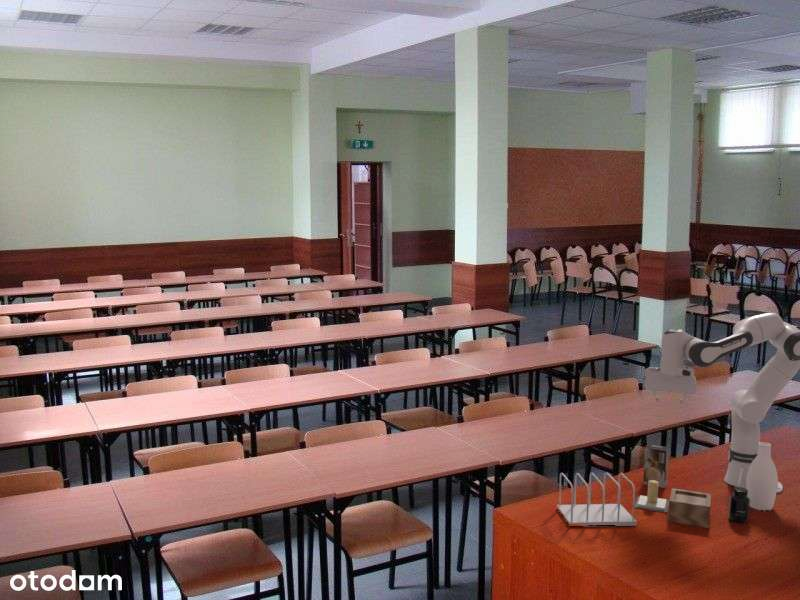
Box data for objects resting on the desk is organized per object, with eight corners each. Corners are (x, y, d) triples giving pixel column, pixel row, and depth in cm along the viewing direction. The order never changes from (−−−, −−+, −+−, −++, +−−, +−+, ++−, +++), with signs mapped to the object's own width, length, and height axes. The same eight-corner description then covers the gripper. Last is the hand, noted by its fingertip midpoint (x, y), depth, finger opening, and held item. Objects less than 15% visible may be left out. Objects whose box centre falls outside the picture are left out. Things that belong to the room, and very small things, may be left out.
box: (709, 514, 293) (711, 494, 292) (708, 528, 281) (710, 507, 280) (670, 508, 299) (672, 488, 298) (668, 521, 286) (669, 500, 285)
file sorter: (620, 508, 298) (622, 469, 296) (636, 527, 281) (639, 485, 279) (556, 509, 296) (558, 469, 294) (569, 527, 279) (571, 486, 277)
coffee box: (667, 483, 326) (669, 446, 324) (665, 488, 320) (667, 451, 318) (645, 479, 330) (647, 443, 328) (642, 484, 324) (644, 447, 322)
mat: (669, 502, 305) (669, 501, 305) (666, 513, 294) (666, 512, 294) (637, 497, 309) (637, 496, 309) (634, 507, 298) (634, 506, 298)
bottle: (745, 509, 299) (750, 446, 296) (743, 499, 309) (748, 438, 306) (777, 514, 295) (782, 449, 292) (774, 503, 305) (779, 441, 302)
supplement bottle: (739, 524, 284) (742, 493, 283) (724, 518, 290) (726, 487, 289) (752, 521, 287) (754, 490, 286) (736, 515, 293) (739, 484, 292)
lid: (666, 501, 304) (667, 479, 303) (664, 510, 295) (665, 488, 294) (640, 497, 308) (641, 475, 307) (637, 506, 299) (638, 484, 298)
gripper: (643, 367, 313) (641, 401, 314) (697, 373, 305) (695, 407, 307) (645, 365, 319) (643, 397, 320) (698, 370, 311) (696, 403, 312)
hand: (669, 402), depth 313 cm, fingers open, 8 cm apart
